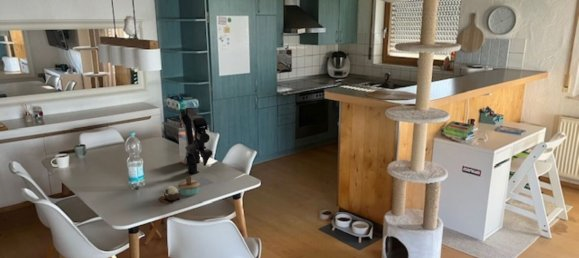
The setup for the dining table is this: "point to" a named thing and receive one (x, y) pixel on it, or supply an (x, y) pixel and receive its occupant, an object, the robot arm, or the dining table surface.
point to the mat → (204, 181)
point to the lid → (188, 184)
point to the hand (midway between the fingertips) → (200, 163)
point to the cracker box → (182, 146)
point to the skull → (170, 195)
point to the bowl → (189, 191)
